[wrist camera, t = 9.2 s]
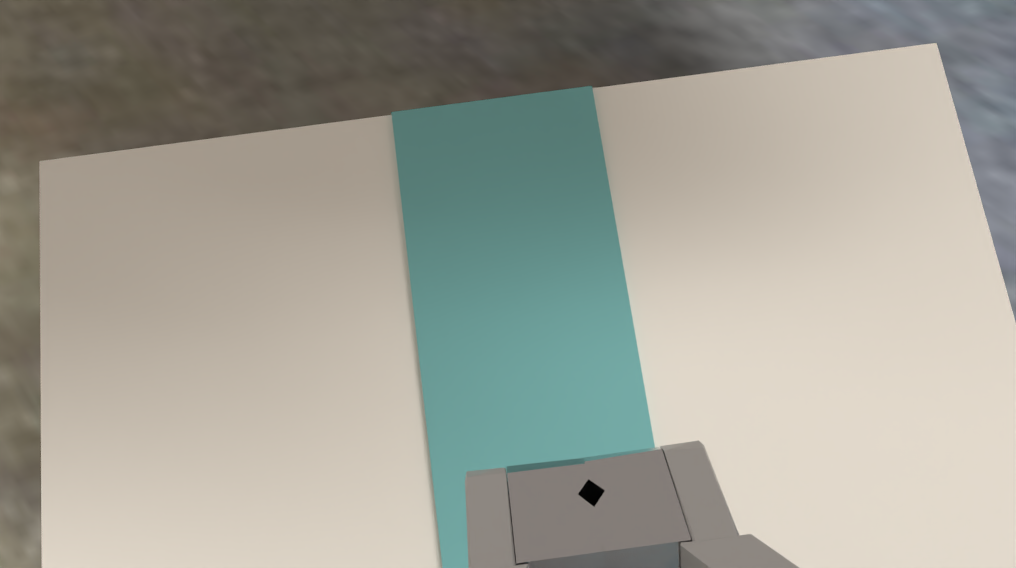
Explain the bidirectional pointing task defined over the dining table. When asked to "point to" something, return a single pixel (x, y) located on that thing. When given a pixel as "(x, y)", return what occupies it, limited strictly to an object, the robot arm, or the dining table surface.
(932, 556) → the box lid
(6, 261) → the dining table surface
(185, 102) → the dining table surface
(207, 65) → the dining table surface
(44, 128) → the dining table surface
